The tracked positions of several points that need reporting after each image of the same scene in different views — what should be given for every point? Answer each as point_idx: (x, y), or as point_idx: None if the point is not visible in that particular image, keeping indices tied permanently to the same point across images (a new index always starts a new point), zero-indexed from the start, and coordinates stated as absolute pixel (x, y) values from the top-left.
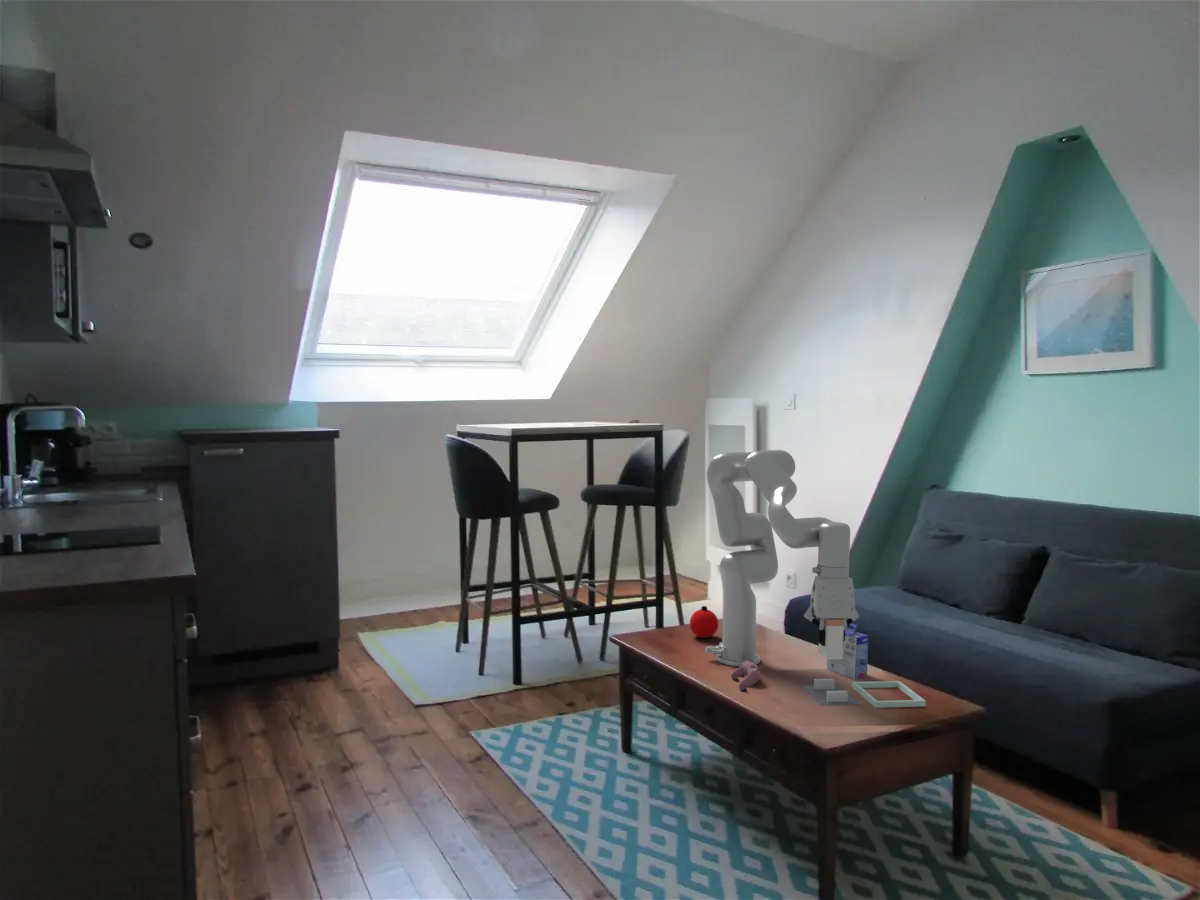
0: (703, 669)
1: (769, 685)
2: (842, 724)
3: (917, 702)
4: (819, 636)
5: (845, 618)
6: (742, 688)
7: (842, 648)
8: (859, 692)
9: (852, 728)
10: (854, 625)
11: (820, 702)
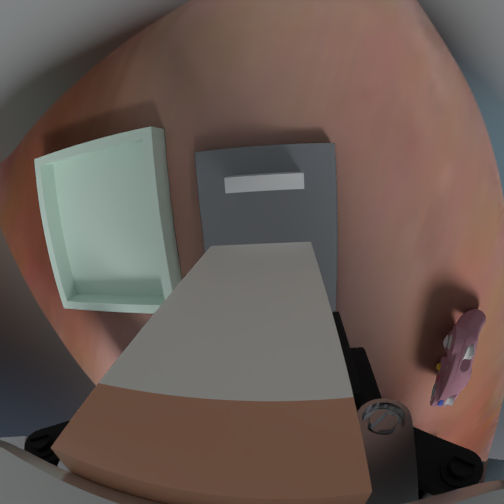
0: (469, 412)
1: (401, 347)
2: (295, 34)
3: (51, 153)
4: (369, 367)
5: (34, 458)
6: (477, 309)
7: (193, 269)
8: (170, 252)
9: (274, 11)
10: None
11: (327, 169)
